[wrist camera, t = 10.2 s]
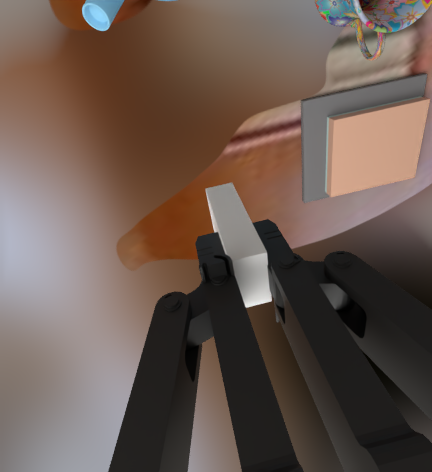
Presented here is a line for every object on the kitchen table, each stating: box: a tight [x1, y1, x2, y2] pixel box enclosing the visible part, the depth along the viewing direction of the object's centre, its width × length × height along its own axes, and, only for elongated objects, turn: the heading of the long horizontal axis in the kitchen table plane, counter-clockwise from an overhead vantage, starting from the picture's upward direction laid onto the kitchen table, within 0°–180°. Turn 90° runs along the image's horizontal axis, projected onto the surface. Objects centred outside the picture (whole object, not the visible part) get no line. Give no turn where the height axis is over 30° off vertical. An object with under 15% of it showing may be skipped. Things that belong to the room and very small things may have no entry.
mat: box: [301, 73, 427, 203], centre depth 50 cm, size 18×16×1 cm
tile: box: [325, 96, 430, 197], centre depth 49 cm, size 2×12×14 cm
